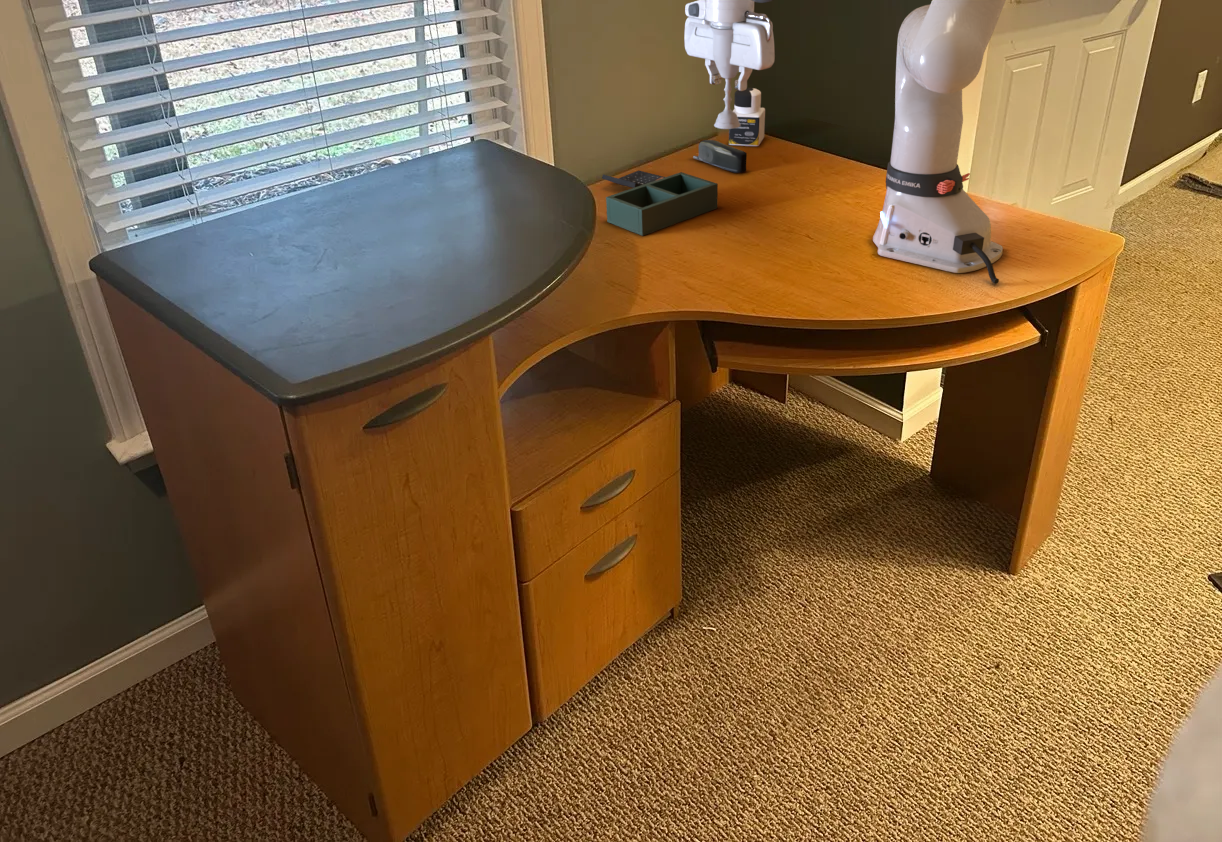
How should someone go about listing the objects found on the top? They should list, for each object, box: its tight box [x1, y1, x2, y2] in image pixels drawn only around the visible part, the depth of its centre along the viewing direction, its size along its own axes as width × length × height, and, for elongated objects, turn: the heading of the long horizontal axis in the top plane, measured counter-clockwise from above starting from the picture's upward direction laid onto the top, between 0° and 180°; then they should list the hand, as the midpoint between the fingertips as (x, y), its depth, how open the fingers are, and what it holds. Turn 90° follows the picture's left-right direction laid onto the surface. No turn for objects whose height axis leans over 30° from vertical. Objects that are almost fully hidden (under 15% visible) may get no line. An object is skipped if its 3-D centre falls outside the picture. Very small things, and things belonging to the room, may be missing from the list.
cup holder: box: [605, 171, 719, 237], centre depth 193 cm, size 10×20×5 cm, turn 130°
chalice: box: [711, 26, 740, 130], centre depth 184 cm, size 7×7×18 cm
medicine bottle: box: [728, 87, 766, 147], centre depth 229 cm, size 7×7×12 cm
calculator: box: [601, 169, 666, 189], centre depth 209 cm, size 9×12×3 cm
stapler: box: [692, 139, 748, 174], centre depth 217 cm, size 5×3×15 cm
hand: (727, 86), depth 185 cm, fingers closed on chalice, 5 cm apart
